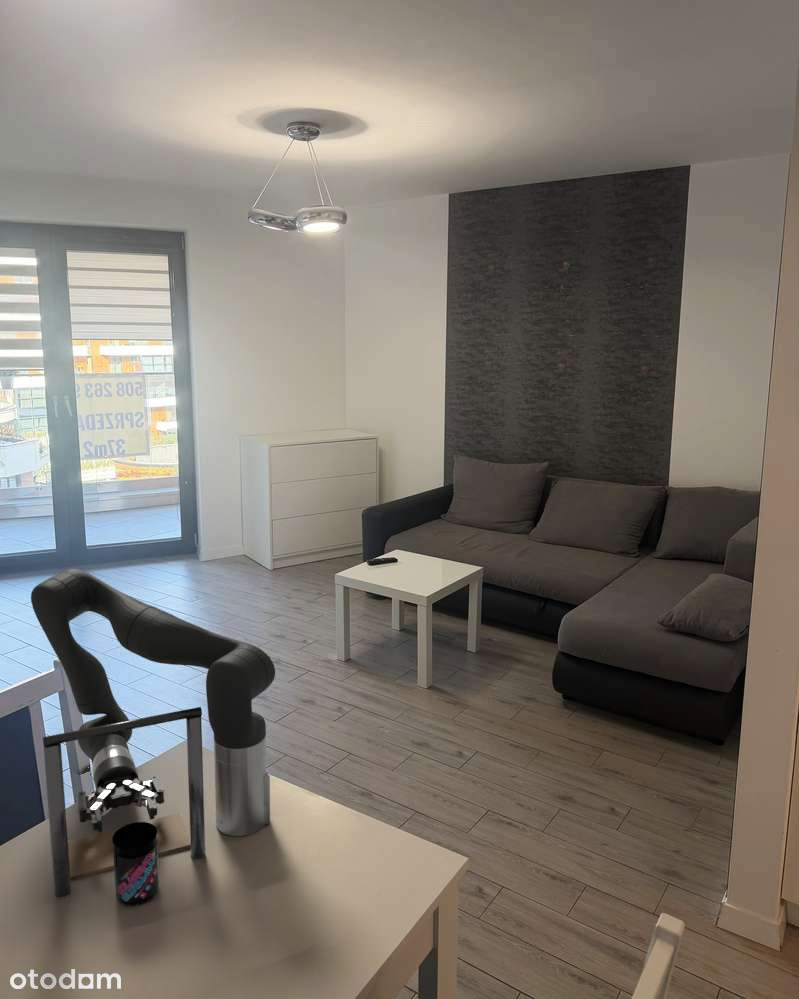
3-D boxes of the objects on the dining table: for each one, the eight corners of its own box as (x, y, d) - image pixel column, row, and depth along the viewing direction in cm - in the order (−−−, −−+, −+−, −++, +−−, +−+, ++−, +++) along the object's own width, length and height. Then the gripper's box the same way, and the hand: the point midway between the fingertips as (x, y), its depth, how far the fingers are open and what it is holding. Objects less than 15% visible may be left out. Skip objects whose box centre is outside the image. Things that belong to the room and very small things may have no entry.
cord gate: (203, 848, 131) (199, 704, 126) (206, 857, 129) (202, 710, 124) (54, 890, 121) (42, 734, 115) (55, 899, 119) (43, 741, 113)
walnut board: (179, 815, 140) (179, 812, 140) (190, 847, 132) (190, 844, 132) (62, 845, 131) (62, 842, 131) (66, 881, 123) (66, 878, 123)
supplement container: (107, 905, 118) (103, 846, 116) (128, 875, 124) (125, 819, 122) (147, 910, 117) (144, 851, 115) (167, 881, 124) (164, 824, 121)
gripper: (72, 763, 139) (80, 812, 125) (152, 746, 145) (168, 791, 131) (75, 800, 141) (83, 852, 126) (154, 781, 147) (170, 829, 133)
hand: (126, 821), depth 129 cm, fingers open, 8 cm apart
